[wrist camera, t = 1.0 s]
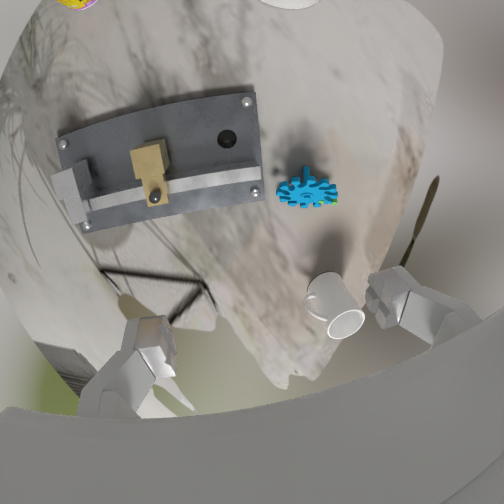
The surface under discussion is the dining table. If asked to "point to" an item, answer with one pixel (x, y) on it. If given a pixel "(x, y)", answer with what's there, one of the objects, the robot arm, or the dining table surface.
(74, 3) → the supplement bottle
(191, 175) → the trammel bar
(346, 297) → the mug
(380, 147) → the dining table surface
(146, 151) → the block
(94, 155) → the bolt plate
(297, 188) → the gear
